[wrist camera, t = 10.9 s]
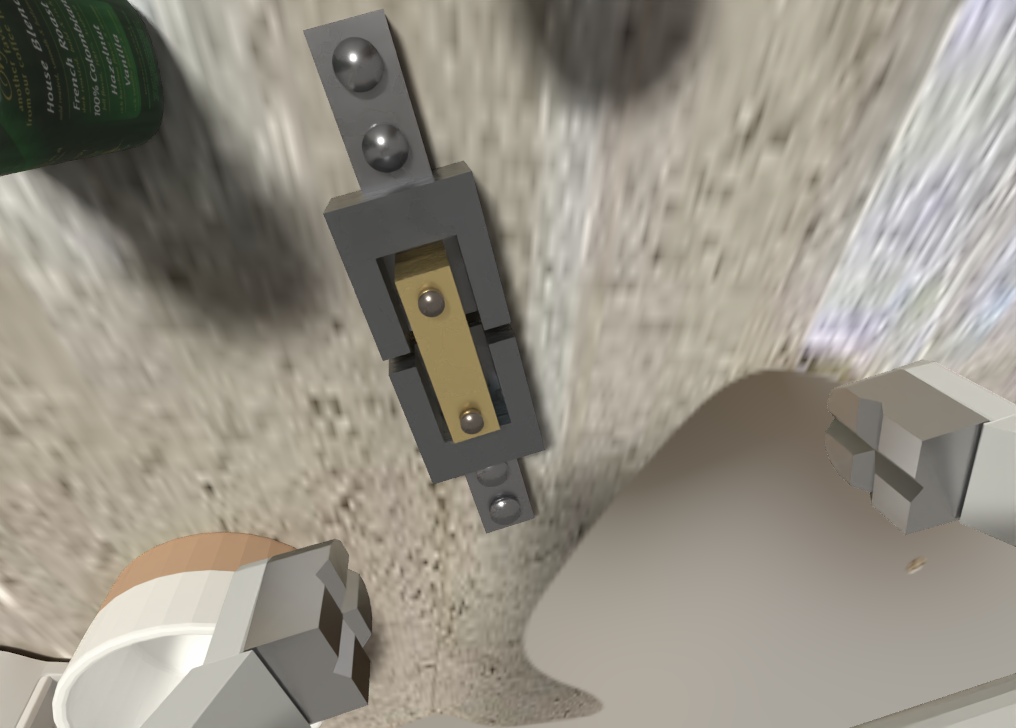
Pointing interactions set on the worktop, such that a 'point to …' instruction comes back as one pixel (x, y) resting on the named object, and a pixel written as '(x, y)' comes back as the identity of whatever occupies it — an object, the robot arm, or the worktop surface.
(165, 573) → the bowl
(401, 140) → the chain end near
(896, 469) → the robot arm
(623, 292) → the worktop surface
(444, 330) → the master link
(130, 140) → the coffee jar
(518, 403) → the chain end far
